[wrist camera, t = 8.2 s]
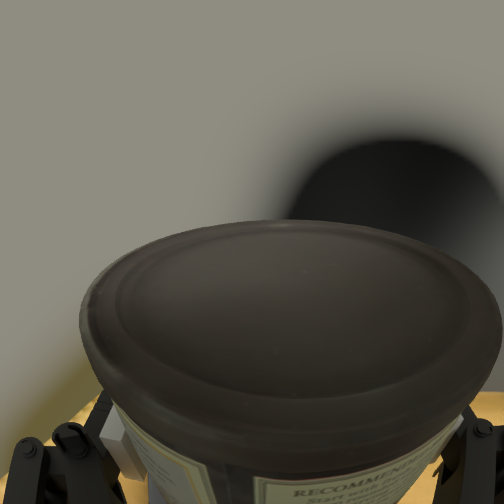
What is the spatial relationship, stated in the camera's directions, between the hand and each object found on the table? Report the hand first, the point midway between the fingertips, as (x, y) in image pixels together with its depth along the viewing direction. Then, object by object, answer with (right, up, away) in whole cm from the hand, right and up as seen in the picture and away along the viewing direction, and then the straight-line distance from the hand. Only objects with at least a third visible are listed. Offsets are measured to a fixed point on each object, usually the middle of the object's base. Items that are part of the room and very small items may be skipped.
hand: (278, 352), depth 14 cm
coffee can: (0, -9, -1) cm, 9 cm away
